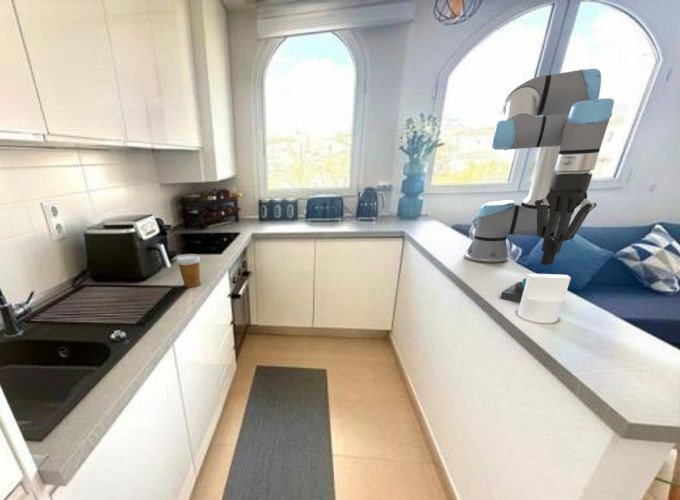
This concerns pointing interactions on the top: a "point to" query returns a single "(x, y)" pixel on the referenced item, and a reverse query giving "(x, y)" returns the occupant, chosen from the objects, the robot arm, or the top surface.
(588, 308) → the top surface
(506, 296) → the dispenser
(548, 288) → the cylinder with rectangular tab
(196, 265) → the disposable coffee cup
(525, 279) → the button
